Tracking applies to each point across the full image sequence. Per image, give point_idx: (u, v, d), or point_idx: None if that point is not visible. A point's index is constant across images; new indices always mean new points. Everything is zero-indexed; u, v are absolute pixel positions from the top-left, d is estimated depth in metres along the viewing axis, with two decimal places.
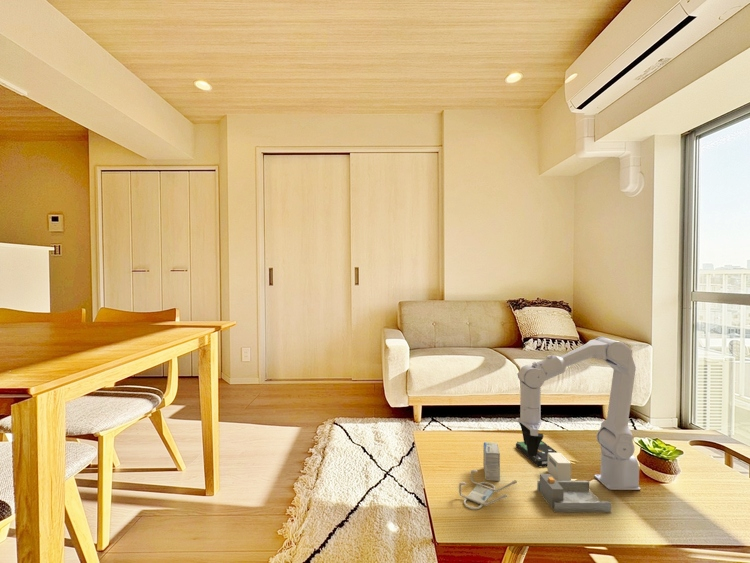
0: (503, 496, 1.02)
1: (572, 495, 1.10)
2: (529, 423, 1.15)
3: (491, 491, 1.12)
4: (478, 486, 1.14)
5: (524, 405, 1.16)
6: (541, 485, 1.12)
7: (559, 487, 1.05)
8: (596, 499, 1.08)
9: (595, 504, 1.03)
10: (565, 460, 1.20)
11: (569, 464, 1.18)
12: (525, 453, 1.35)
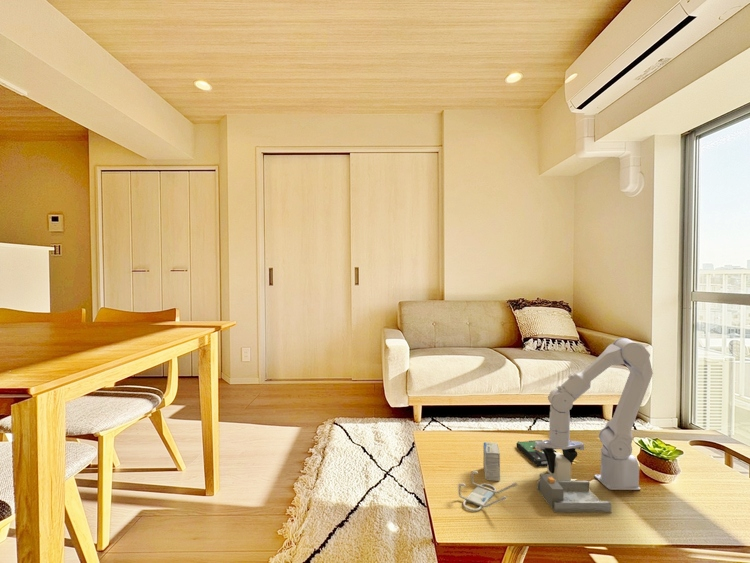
0: (502, 498, 1.01)
1: (572, 495, 1.10)
2: (549, 441, 1.22)
3: (491, 493, 1.11)
4: (478, 487, 1.13)
5: (552, 428, 1.20)
6: (541, 485, 1.12)
7: (559, 487, 1.05)
8: (596, 499, 1.08)
9: (595, 504, 1.03)
10: (565, 460, 1.20)
11: (569, 464, 1.18)
12: (525, 453, 1.36)
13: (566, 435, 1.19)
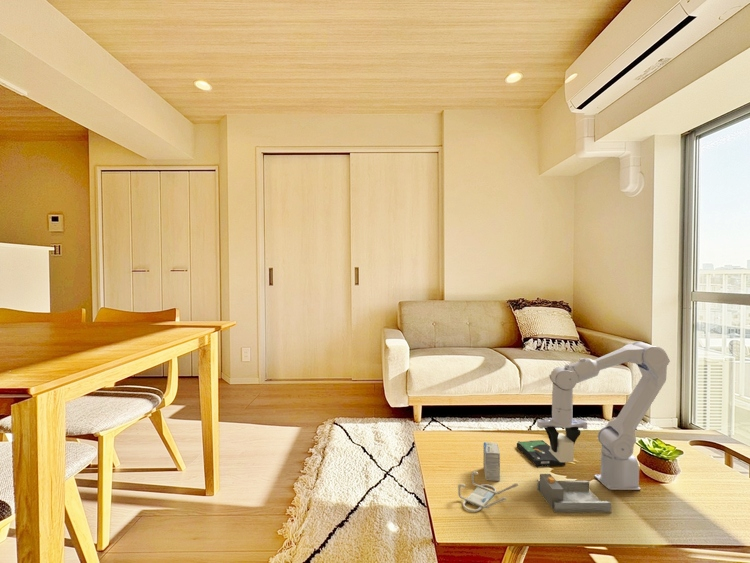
0: (502, 499, 1.00)
1: (572, 495, 1.10)
2: (551, 420, 1.20)
3: (492, 493, 1.10)
4: (479, 488, 1.13)
5: (555, 406, 1.18)
6: (541, 485, 1.12)
7: (559, 487, 1.05)
8: (596, 499, 1.08)
9: (595, 504, 1.03)
10: (568, 440, 1.18)
11: (572, 444, 1.16)
12: (525, 453, 1.36)
13: (569, 413, 1.17)
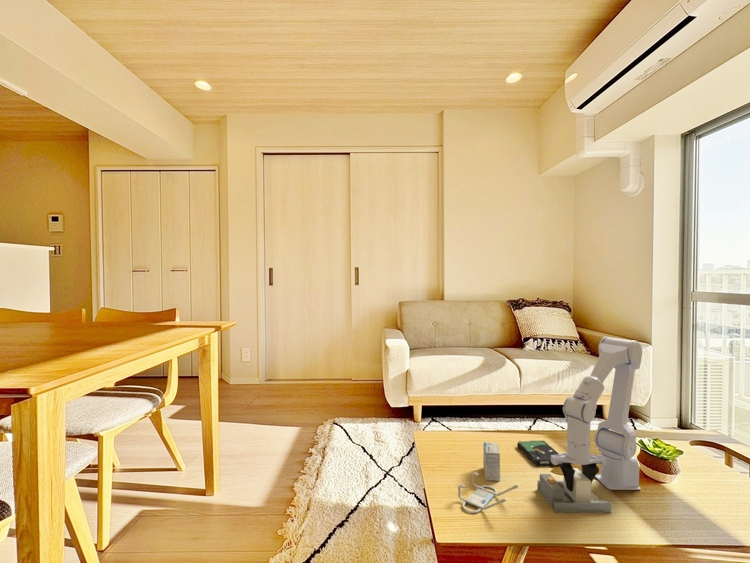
0: (502, 500, 1.00)
1: None
2: (566, 455, 1.09)
3: (492, 495, 1.10)
4: (479, 489, 1.12)
5: (578, 443, 1.06)
6: (541, 485, 1.12)
7: (559, 487, 1.05)
8: (596, 499, 1.08)
9: (595, 504, 1.03)
10: (584, 477, 1.07)
11: (589, 482, 1.06)
12: (525, 452, 1.36)
13: (586, 448, 1.06)
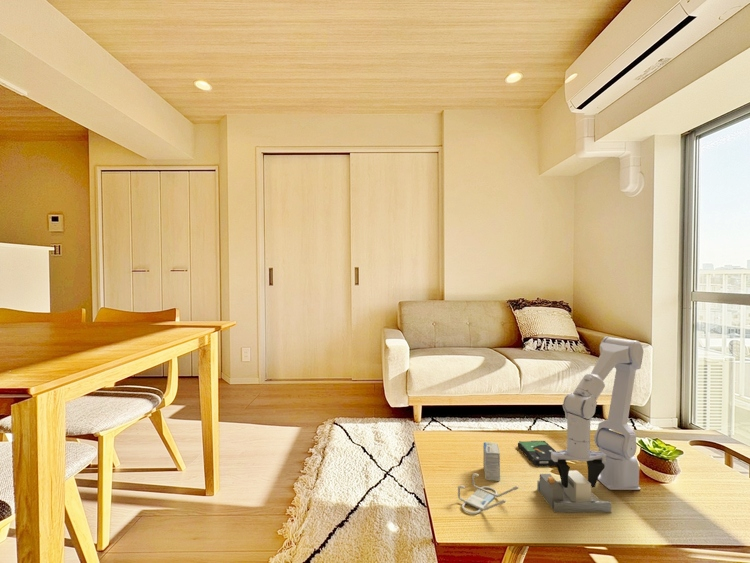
0: (501, 502, 0.99)
1: None
2: (567, 452, 1.09)
3: (492, 496, 1.09)
4: (479, 490, 1.12)
5: (578, 439, 1.06)
6: (541, 485, 1.12)
7: (559, 487, 1.05)
8: (596, 499, 1.08)
9: (595, 504, 1.03)
10: (584, 480, 1.07)
11: (589, 485, 1.06)
12: (525, 452, 1.36)
13: (586, 445, 1.06)
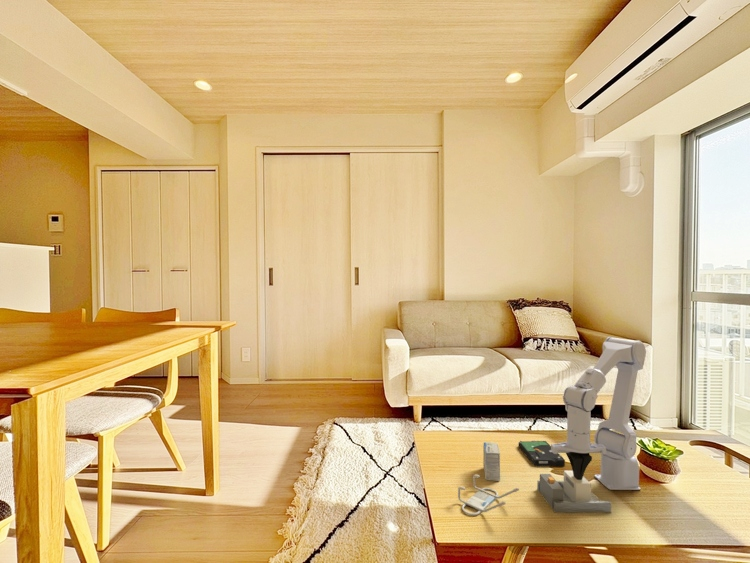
0: (501, 503, 0.99)
1: None
2: (567, 444, 1.09)
3: (493, 498, 1.09)
4: (480, 492, 1.11)
5: (578, 431, 1.06)
6: (541, 485, 1.12)
7: (559, 487, 1.05)
8: (596, 499, 1.08)
9: (595, 504, 1.03)
10: (584, 480, 1.07)
11: (589, 485, 1.06)
12: (525, 452, 1.36)
13: (586, 437, 1.06)
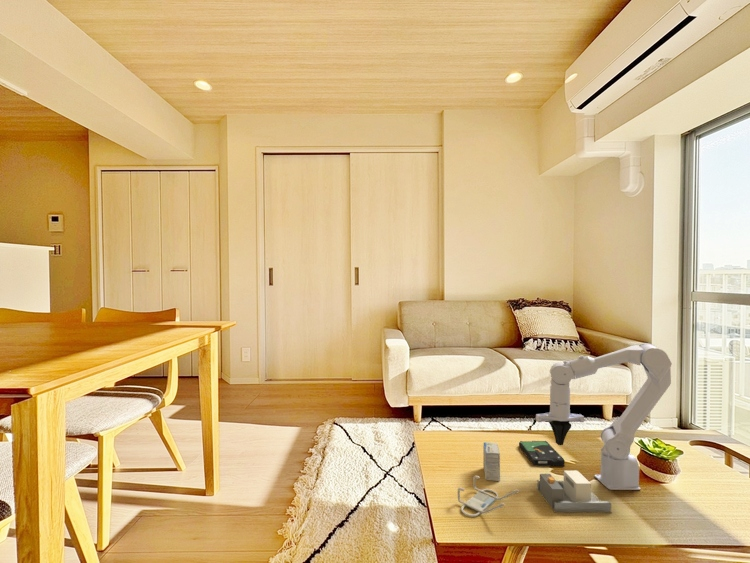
0: (500, 505, 0.98)
1: None
2: (549, 414, 1.24)
3: (493, 499, 1.08)
4: (480, 493, 1.11)
5: (552, 400, 1.23)
6: (541, 485, 1.12)
7: (559, 487, 1.05)
8: (596, 499, 1.08)
9: (595, 504, 1.03)
10: (584, 480, 1.07)
11: (589, 485, 1.06)
12: (525, 452, 1.36)
13: (566, 407, 1.21)
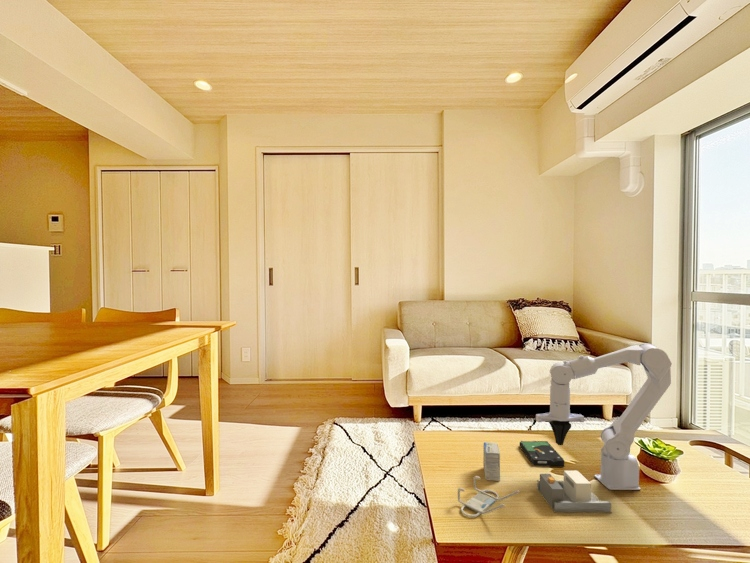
0: (500, 505, 0.97)
1: None
2: (549, 414, 1.24)
3: (493, 500, 1.07)
4: (480, 493, 1.10)
5: (551, 400, 1.23)
6: (541, 485, 1.12)
7: (559, 487, 1.05)
8: (596, 499, 1.08)
9: (595, 504, 1.03)
10: (584, 480, 1.07)
11: (589, 485, 1.06)
12: (525, 452, 1.36)
13: (566, 407, 1.21)
